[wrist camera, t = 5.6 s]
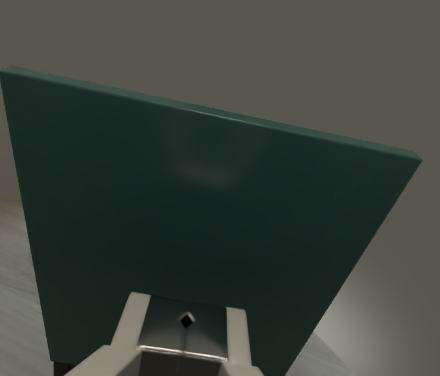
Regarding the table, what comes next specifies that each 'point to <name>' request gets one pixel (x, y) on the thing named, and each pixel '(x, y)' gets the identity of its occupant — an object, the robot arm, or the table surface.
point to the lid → (188, 210)
